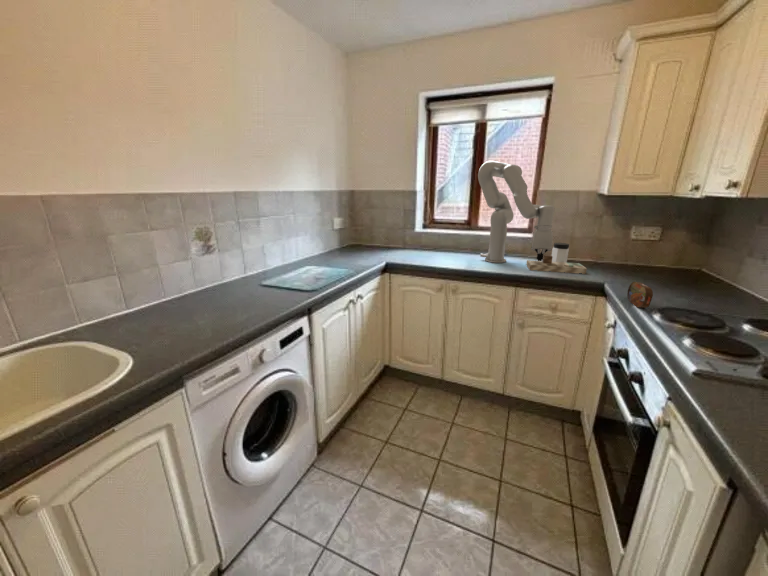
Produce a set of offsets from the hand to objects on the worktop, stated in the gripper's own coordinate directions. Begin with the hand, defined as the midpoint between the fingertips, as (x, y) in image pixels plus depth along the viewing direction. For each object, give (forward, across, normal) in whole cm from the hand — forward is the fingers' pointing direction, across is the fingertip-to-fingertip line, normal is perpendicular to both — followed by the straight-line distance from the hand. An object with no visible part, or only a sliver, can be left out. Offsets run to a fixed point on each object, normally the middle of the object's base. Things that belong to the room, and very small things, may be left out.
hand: (539, 260), depth 189 cm
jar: (+4, +14, +16) cm, 21 cm away
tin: (+4, +27, -58) cm, 64 cm away
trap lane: (+4, +8, -3) cm, 9 cm away
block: (+1, +4, 0) cm, 4 cm away
